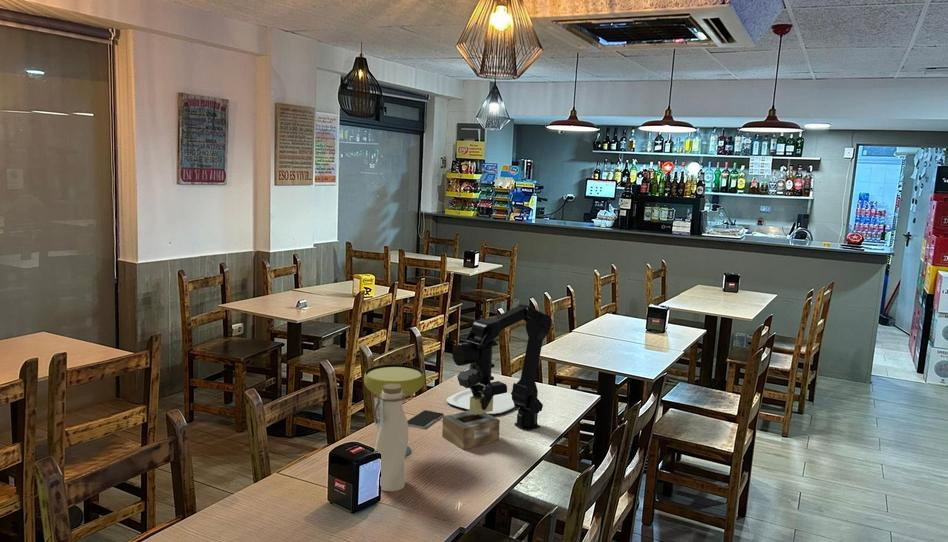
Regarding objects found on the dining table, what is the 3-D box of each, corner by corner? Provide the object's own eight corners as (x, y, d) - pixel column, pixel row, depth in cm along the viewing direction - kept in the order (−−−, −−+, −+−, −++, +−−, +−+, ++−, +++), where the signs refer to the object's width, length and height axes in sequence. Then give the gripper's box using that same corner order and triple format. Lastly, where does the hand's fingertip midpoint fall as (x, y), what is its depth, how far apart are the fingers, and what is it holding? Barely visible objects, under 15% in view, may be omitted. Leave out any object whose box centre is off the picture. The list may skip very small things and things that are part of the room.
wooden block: (486, 408, 218) (487, 393, 217) (492, 410, 216) (493, 395, 215) (469, 412, 214) (470, 396, 213) (475, 414, 212) (475, 399, 211)
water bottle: (390, 498, 177) (391, 395, 173) (364, 488, 182) (365, 388, 178) (414, 483, 186) (415, 385, 182) (388, 475, 190) (389, 379, 186)
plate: (438, 404, 251) (438, 400, 250) (476, 388, 271) (477, 384, 271) (495, 420, 236) (495, 416, 236) (531, 402, 257) (531, 397, 257)
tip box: (477, 428, 227) (477, 408, 226) (499, 440, 217) (499, 419, 216) (442, 436, 219) (442, 416, 218) (463, 449, 209) (463, 428, 208)
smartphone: (444, 413, 239) (424, 426, 225) (444, 416, 239) (424, 430, 225) (424, 409, 242) (403, 422, 228) (424, 413, 242) (403, 426, 229)
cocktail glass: (416, 437, 218) (418, 362, 214) (428, 460, 201) (430, 379, 197) (360, 442, 213) (360, 365, 209) (367, 466, 196) (368, 383, 192)
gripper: (444, 357, 215) (443, 404, 217) (480, 371, 200) (478, 422, 203) (472, 352, 222) (471, 398, 224) (509, 366, 207) (507, 415, 209)
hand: (481, 408), depth 215 cm, fingers closed on wooden block, 3 cm apart
